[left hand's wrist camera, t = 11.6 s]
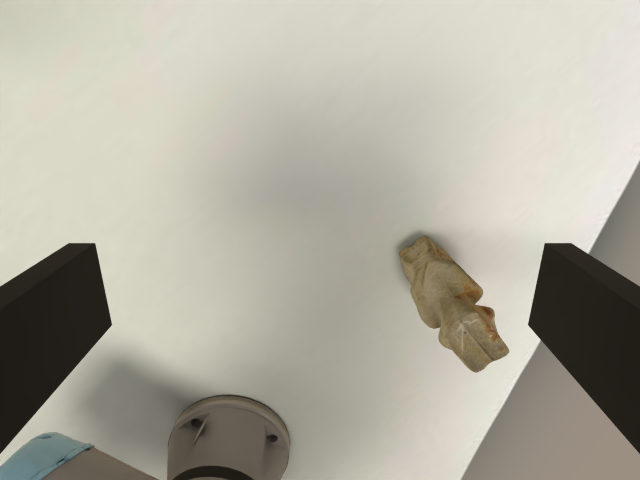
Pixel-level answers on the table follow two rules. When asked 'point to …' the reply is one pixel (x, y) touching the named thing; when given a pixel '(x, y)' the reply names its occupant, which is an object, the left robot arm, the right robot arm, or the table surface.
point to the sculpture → (452, 304)
